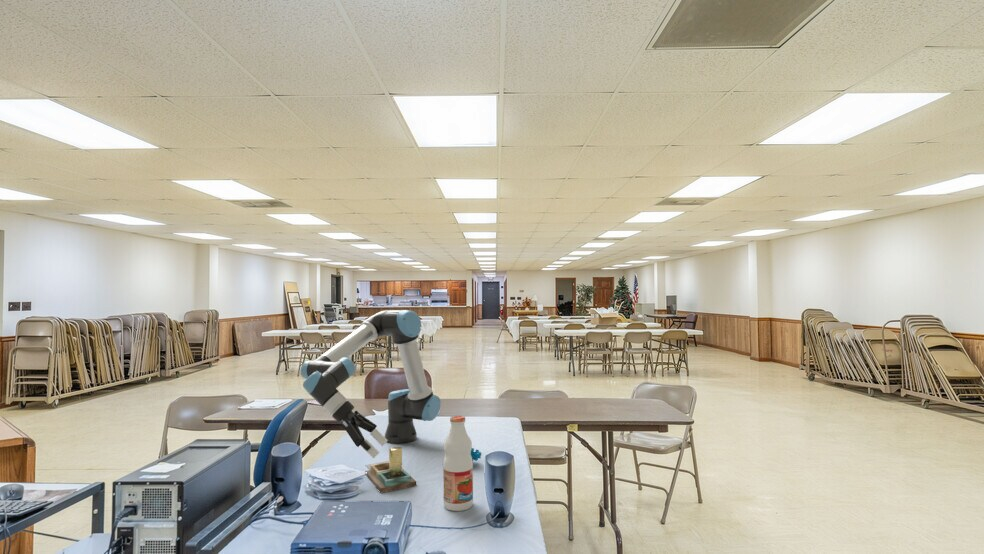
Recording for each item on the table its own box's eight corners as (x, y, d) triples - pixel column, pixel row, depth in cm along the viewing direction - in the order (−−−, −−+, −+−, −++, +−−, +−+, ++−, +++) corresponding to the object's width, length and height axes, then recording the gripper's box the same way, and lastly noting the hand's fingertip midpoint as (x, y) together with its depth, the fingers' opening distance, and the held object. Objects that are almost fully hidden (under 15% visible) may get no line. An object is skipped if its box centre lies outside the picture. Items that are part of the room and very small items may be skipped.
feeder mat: (389, 462, 195) (389, 460, 195) (396, 468, 187) (396, 467, 187) (364, 466, 190) (364, 465, 190) (371, 473, 182) (371, 472, 182)
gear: (483, 457, 195) (478, 445, 188) (483, 471, 190) (478, 459, 184) (457, 460, 196) (451, 448, 190) (456, 474, 192) (450, 462, 185)
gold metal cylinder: (400, 476, 174) (400, 446, 175) (404, 481, 170) (404, 449, 171) (386, 479, 172) (386, 448, 173) (390, 483, 167) (390, 451, 168)
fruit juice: (451, 497, 159) (451, 412, 160) (477, 501, 155) (476, 414, 157) (438, 509, 150) (437, 419, 151) (465, 513, 146) (464, 421, 148)
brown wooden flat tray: (398, 468, 187) (398, 459, 187) (416, 485, 170) (416, 475, 170) (365, 475, 181) (365, 465, 181) (380, 493, 163) (380, 482, 163)
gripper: (342, 407, 184) (381, 446, 183) (319, 424, 159) (364, 469, 158) (356, 393, 184) (395, 431, 184) (335, 408, 159) (380, 452, 159)
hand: (381, 449), depth 171 cm, fingers open, 13 cm apart
